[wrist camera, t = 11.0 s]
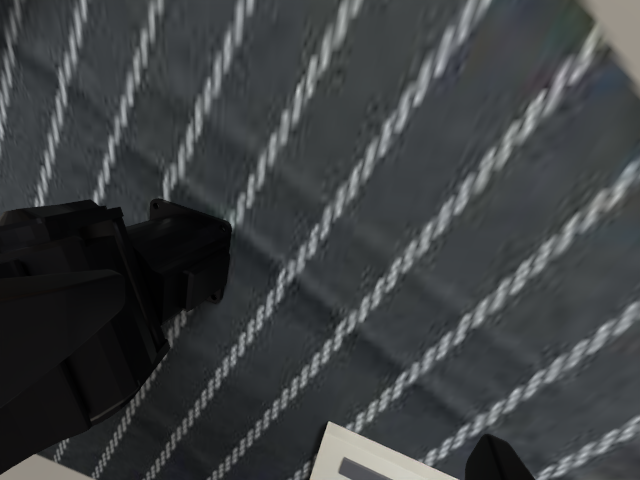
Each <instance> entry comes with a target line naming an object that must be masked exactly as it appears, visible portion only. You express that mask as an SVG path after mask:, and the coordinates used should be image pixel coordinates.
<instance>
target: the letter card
mask: <svg viewBox="0 0 640 480" xmlns="http://www.w3.org/2000/svg"><path fill="white" fill-rule="evenodd" d="M310 480H458V479H456V478H454V477H452V476H450V475H447V474H445V473H443V472H441V471H438V470H436V469H434V468H432V467H430V466H427V465H425V464H423V463H421V462H418V461H416V460H414V459H412V458H410V457H407V456H405V455H403V454H401V453H398V452H396V451H394V450H392V449H390V448H387V447H385V446H383V445H381V444H379V443H376V442H374V441H372V440H370V439H367V438H365V437H363V436H361V435H359V434H356V433H354V432H352V431H350V430H347V429H345V428H343V427H341V426H339V425H336V424H334V423H332V422H330V421H329V422H328V425H327V428H326V431H325V434H324V437H323V440H322V443H321V446H320V449H319V452H318V455H317V458H316V461H315V465H314V468H313V471H312V474H311V477H310Z"/></svg>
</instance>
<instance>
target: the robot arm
mask: <svg viewBox="0 0 640 480" xmlns="http://www.w3.org/2000/svg"><path fill="white" fill-rule="evenodd" d="M157 204H158V205H159V208H158V206H157ZM122 216H124V215H123V213H122V210H121V207H117V208H112V209H107V208H106V206H98V205H97V204H96V203H95V202H93V201H92V200H91V199H90V200H84V201H78V202H72V203H66V204H59V205H51V206H41V207H32V208H22V209H16V210H11V211H6V212H4V213H3V214H2V216H1V217H0V475H1V474H2V473H4V472H6V471H7V470H9V469H10V468H12V467H13V466H15V465H17V464H19V463H20V462H22V461H23V460H25V459H27V458H29V457H30V456H32V455H34V454H36V453H38V452H40V451H42V450H44V449H46V448H48V447H50V446H52V445H54V444H56V443H58V442H60V441H62V440H65V439H67V438H70V437H73V436H75V435H78V434H80V433H83V432H85V431H87V430H89V429H90V428H91V427H92V426H94V425H96V424H98V423H100V422H102V421H104V420H105V419H107V418H109V417H111V416H112V415H113V414H115V413H116V412H118V411H119V410H120V409H122V408H123V407H124V406H125V405H126V404H127V403H129V402H130V401H131V399H132V398H133V397H134V396H135V395H136V394H137V392H138V391H139V390H140V388H141V387H142V386H143V384H144V383H145V382H146V380H147V379H148V378H149V376H150V375H151V373H152V372H153V371H154V369H155V368H156V367H157V365H158V364H159V363H160V361H161V360H162V359H163V357H164V356H165V355H166V353H167V352H168V351H169V349H170V345H169V342H168V340H167V339H165V336H164V334H163V331H162V328H161V325H162V324H164V323H165V322H167V321H168V320H170V319H171V318H173V317H174V316H175V315H177V314H178V313H180V312H181V311H183V310H184V311H186V312H188V311H190V310H192V309H193V308H194V307H196V306H197V305H199V304H200V303H201V302H203V301H204V300H207V301H210V302H212V303H218V302H219V301H220V300H221V299H222V298H223V291H224V286H225V285H226V282H227V274H228V267H229V260H230V254H229V247H230V239H231V232H232V227H231V224H230V223H229V222H228V221H225V220H223V219H220V218H217V217H214V216H211V215H208V214H205V213H202V212H199V211H196V210H193V209H190V208H187V207H184V206H181V205H178V204H175V203H172V202H169V201H166V200H163V199H159V198H158V199H154V200H152V201H151V203H150V220H149V221H146V222H142V223H138V224H135V225H131V226H128V227H125V224H124V221H123V219H122ZM222 226H224V227H225V231H224V230H223V228H222ZM214 294H215V295H216V297H217V298H216V297H215V296H214ZM465 480H535V479H534V477H533V476H532V474H531V473H530V472H529V470H528V469H527V468H526V466H525V465H524V463H523V462H522V461H521V459H520V458H519V457H518V455H517V454H516V452H515V451H514V450H513V448H512V447H511V446H510V444H509V443H507V442H506V441H504V440H502V439H500V438H497V437H495V436H493V435H491V434H484V435H483V436H482V437H481V438H480V440H479V442H478V443H477V445H476V447H475V448H474V450H473V451H472V453H471V455H470V456H469V458H468V460H467V463H466V468H465Z"/></svg>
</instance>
